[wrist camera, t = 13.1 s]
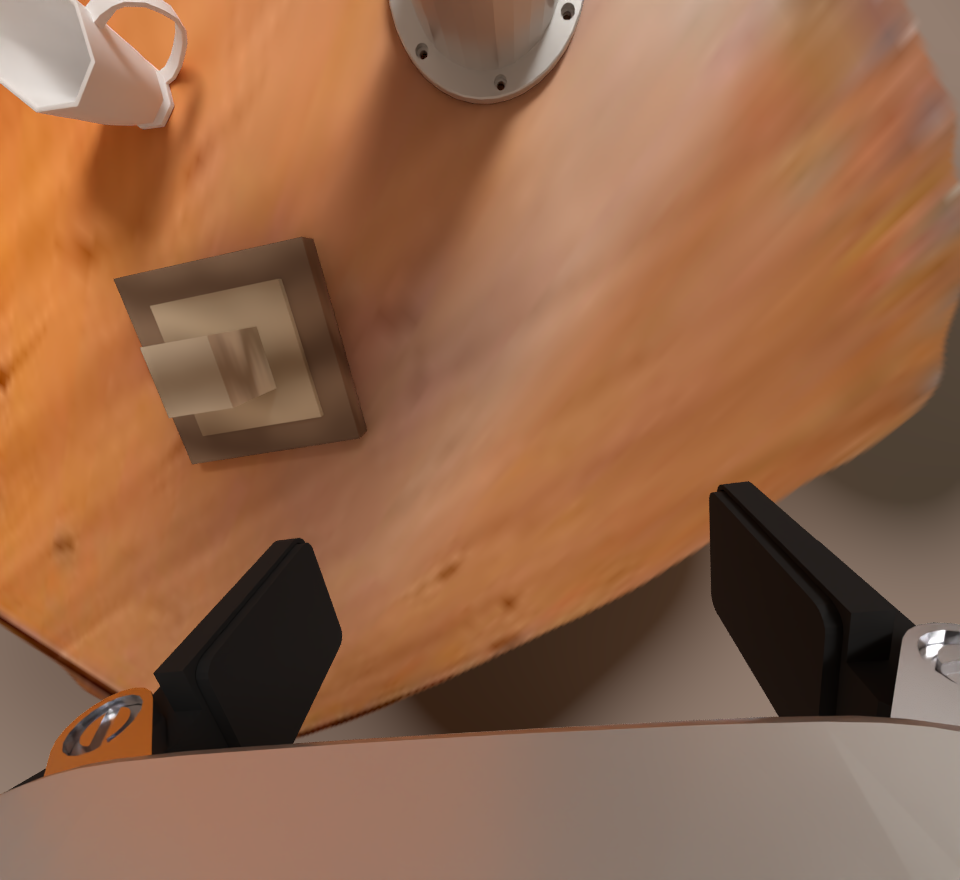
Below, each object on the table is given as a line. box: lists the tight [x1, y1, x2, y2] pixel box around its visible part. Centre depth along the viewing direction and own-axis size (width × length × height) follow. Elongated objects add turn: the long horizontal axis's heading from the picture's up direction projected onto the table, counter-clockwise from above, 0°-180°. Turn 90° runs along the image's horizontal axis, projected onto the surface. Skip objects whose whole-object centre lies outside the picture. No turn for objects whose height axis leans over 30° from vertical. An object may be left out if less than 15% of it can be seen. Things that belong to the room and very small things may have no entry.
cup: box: [0, 0, 187, 129], centre depth 28 cm, size 7×10×8 cm
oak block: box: [140, 326, 276, 418], centre depth 33 cm, size 5×5×6 cm
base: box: [114, 237, 367, 464], centre depth 37 cm, size 16×16×2 cm
